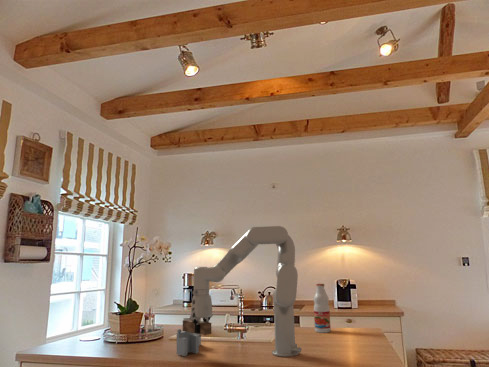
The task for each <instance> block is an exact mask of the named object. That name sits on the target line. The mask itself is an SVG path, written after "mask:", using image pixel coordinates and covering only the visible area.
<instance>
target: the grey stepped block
mask: <svg viewBox="0 0 489 367" xmlns="http://www.w3.org/2000/svg"><path fill="white" fill-rule="evenodd" d="M199 349H200V345H199V336H198V335H193V333H191V332H185V331H182V329H181V328H178V329H177V331H176V355H177V354H178V356H181V355H182V356H181V357H187V356H188V354H189V353H194V354H199V352H200V351H199ZM188 352H189V353H188Z"/></svg>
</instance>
